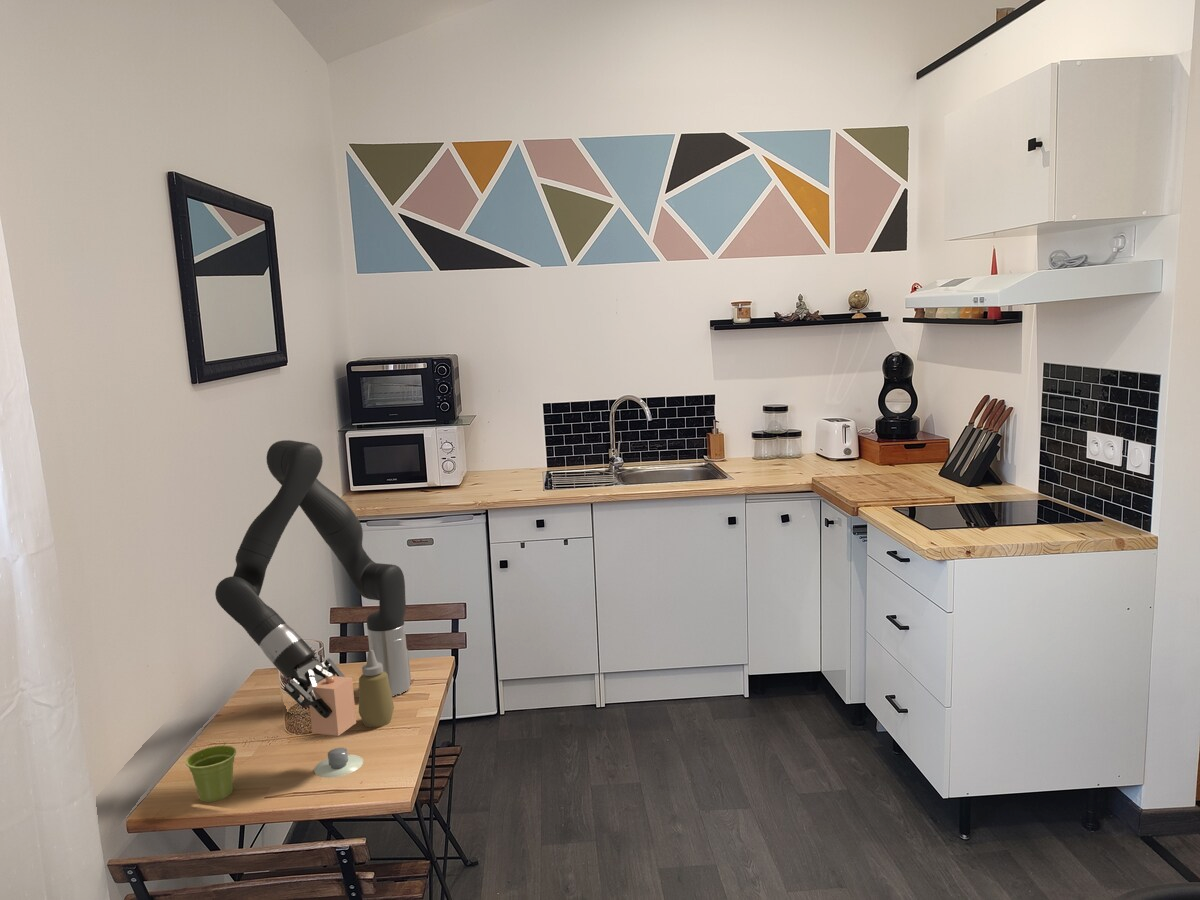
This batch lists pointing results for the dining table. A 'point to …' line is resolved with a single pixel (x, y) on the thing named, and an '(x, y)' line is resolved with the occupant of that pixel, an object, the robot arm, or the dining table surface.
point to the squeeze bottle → (374, 694)
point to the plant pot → (213, 772)
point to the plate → (352, 765)
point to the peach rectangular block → (334, 706)
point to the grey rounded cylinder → (338, 758)
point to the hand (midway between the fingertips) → (339, 708)
